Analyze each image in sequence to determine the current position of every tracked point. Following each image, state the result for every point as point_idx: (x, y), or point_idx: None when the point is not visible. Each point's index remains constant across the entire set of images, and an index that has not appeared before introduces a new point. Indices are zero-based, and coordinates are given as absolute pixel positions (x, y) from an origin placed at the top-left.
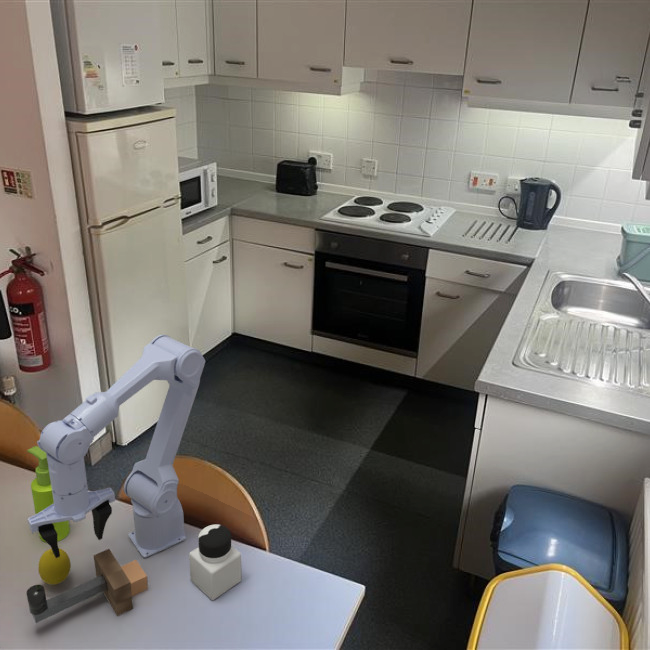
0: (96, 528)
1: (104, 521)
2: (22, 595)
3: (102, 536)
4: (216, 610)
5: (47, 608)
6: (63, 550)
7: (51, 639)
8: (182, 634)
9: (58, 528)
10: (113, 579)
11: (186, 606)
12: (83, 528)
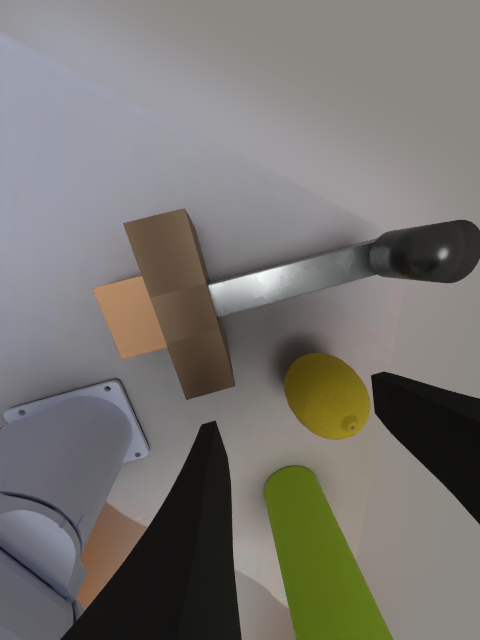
0: (220, 481)
1: (158, 536)
2: (365, 355)
3: (198, 433)
4: None
5: (371, 244)
6: (312, 425)
7: (334, 219)
8: (24, 85)
9: (294, 498)
10: (183, 260)
11: (10, 186)
12: (238, 487)
